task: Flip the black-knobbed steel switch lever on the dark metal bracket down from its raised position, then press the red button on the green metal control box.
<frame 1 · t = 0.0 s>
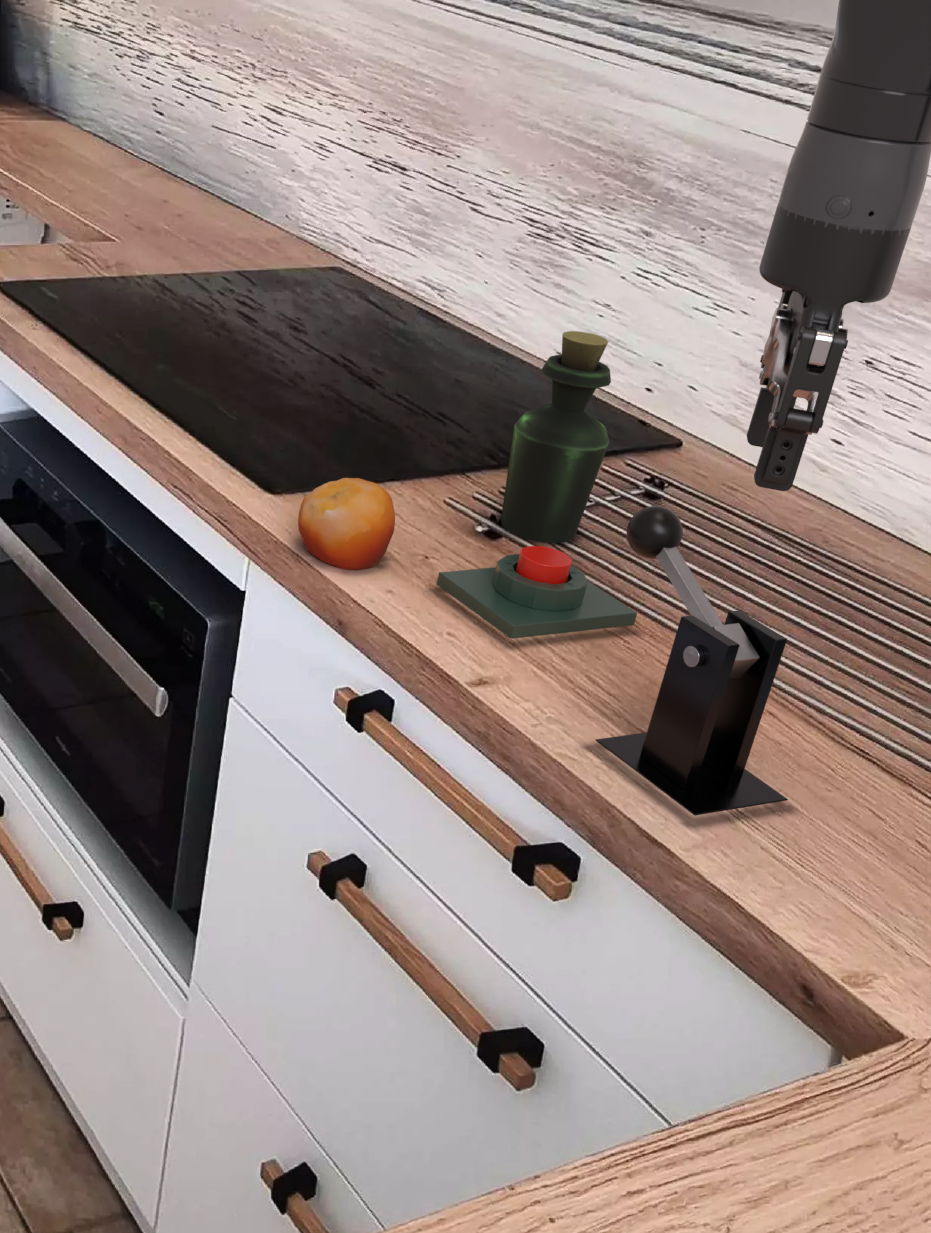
hand: (766, 465, 113), 22 cm above the table, tool pointing down, fingers open, 8 cm apart
button box: (530, 616, 143), on the table
button: (543, 565, 141), point 4 cm above the table, slide at 0.1 cm
fruit: (339, 562, 150), on the table
switch lever: (688, 588, 119), point 12 cm above the table, hinge at 28.0°
switch bracket: (685, 783, 121), on the table
potion bottle: (536, 535, 160), on the table
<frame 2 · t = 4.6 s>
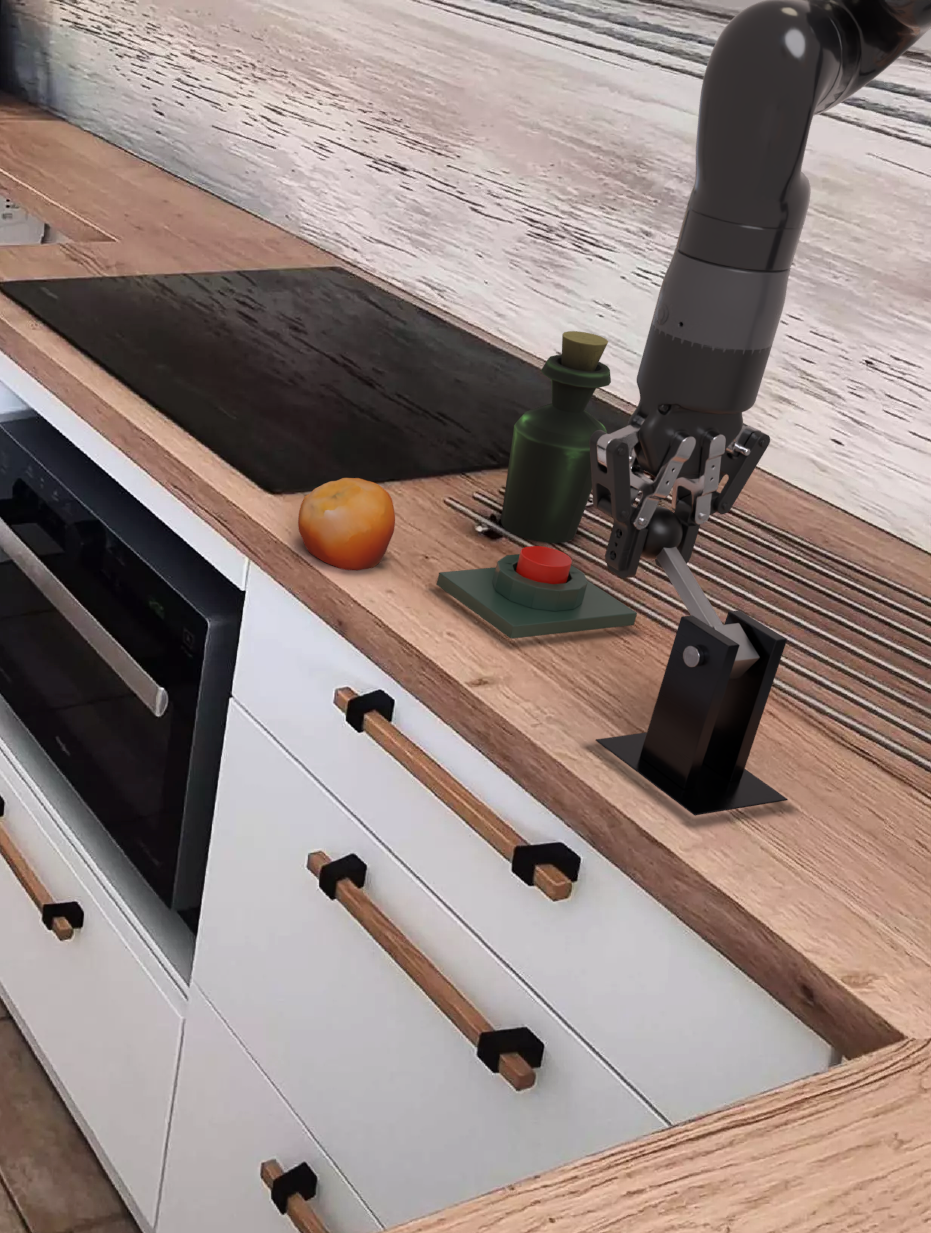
hand: (644, 570, 122), 12 cm above the table, tool pointing down, fingers closed on switch lever, 3 cm apart
switch lever: (688, 588, 119), point 12 cm above the table, hinge at 27.9°, touching gripper
everything else where it was.
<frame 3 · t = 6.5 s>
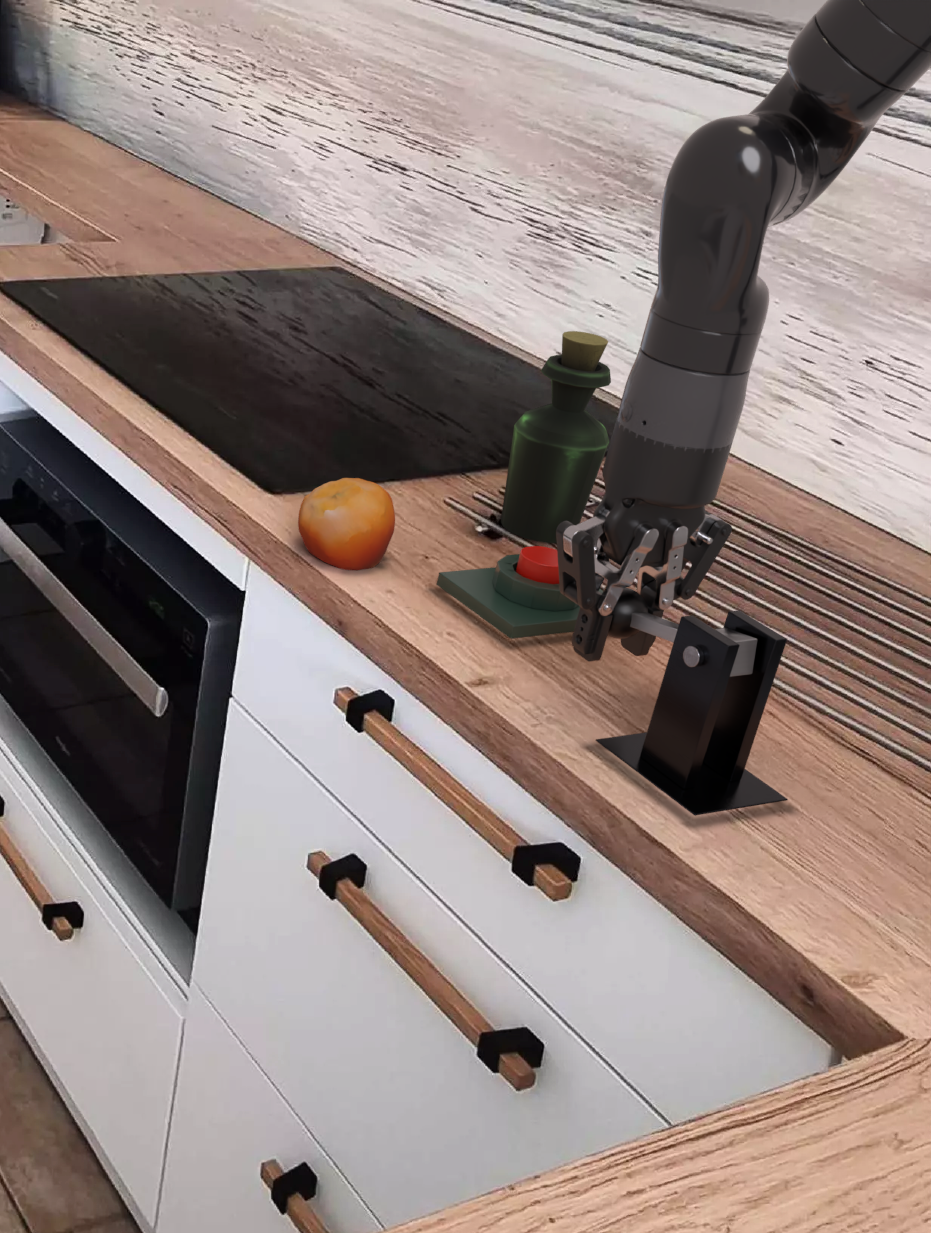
hand: (610, 652, 126), 5 cm above the table, tool pointing down, fingers closed on switch lever, 3 cm apart
switch lever: (669, 631, 121), point 9 cm above the table, hinge at -10.7°, touching gripper
everything else where it was.
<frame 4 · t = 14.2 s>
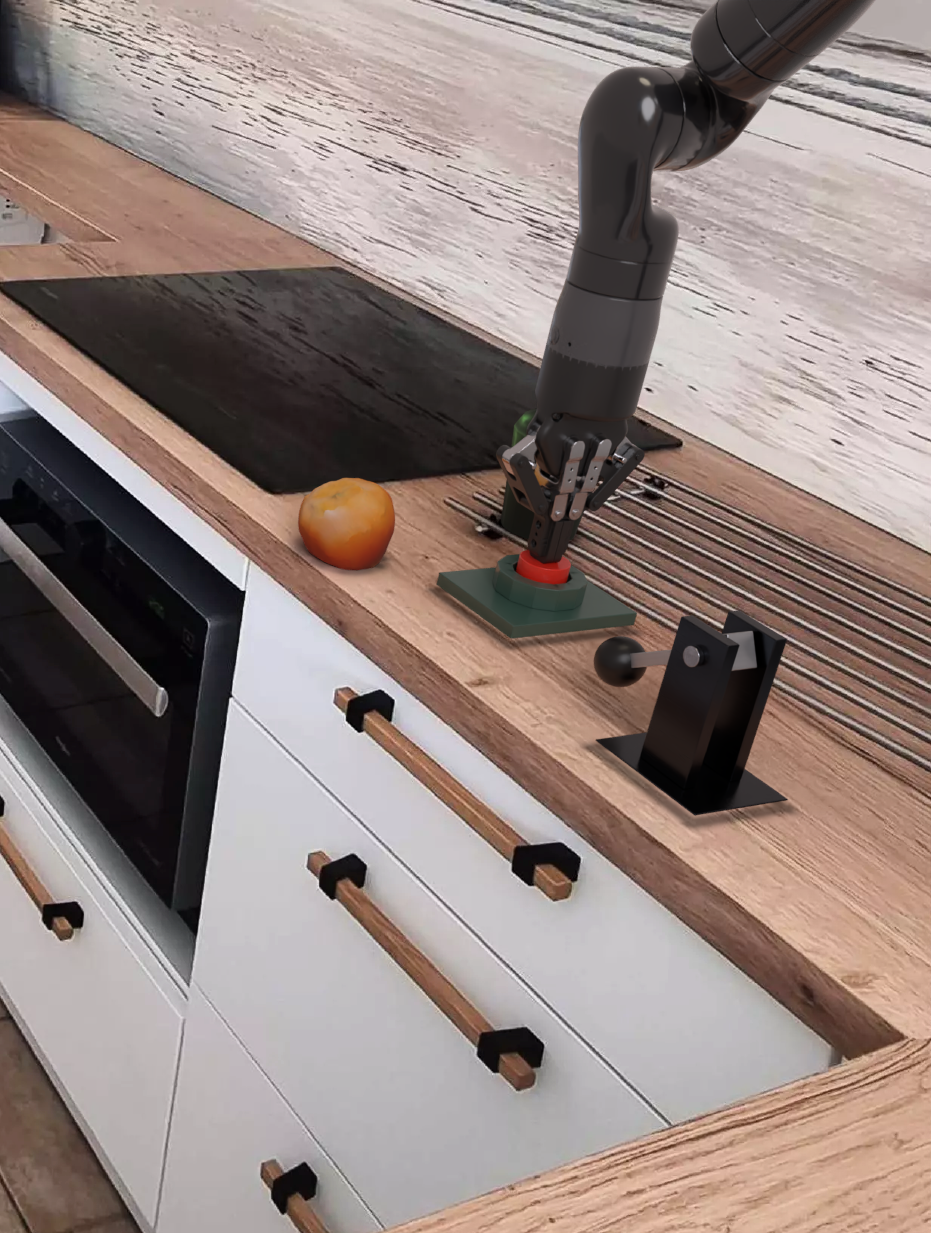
hand: (544, 558, 141), 5 cm above the table, tool pointing down, fingers closed
button: (542, 569, 141), point 4 cm above the table, slide at -0.2 cm, touching gripper
switch lever: (669, 657, 121), point 7 cm above the table, hinge at -30.5°
everything else where it was.
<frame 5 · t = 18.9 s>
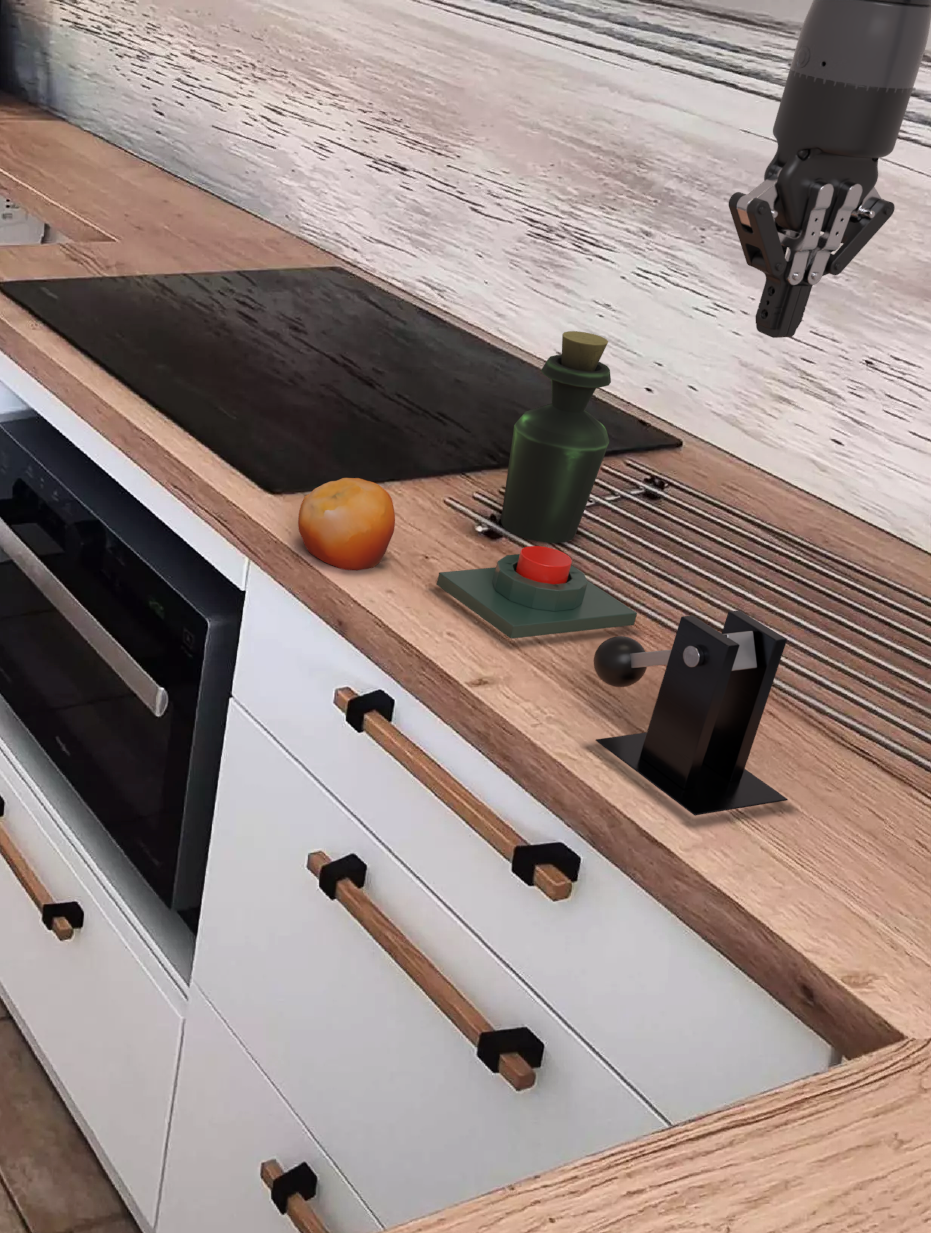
hand: (774, 333, 123), 27 cm above the table, tool pointing down, fingers closed
button: (543, 565, 141), point 4 cm above the table, slide at 0.1 cm
everything else where it was.
at the end: switch lever at -30° (first picture: +28°); button pushed in 1.1 cm at the most during the clip, back to where it started at the end; button slide at 0.1 cm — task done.
